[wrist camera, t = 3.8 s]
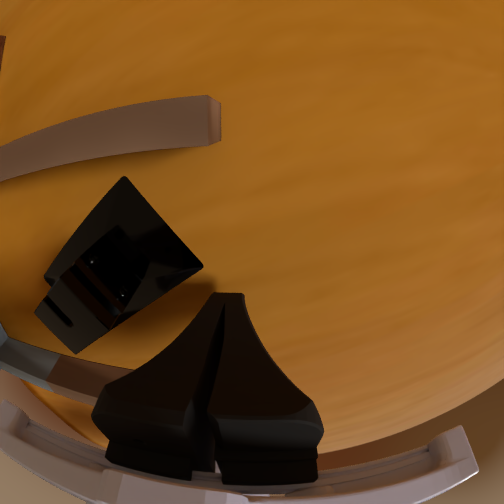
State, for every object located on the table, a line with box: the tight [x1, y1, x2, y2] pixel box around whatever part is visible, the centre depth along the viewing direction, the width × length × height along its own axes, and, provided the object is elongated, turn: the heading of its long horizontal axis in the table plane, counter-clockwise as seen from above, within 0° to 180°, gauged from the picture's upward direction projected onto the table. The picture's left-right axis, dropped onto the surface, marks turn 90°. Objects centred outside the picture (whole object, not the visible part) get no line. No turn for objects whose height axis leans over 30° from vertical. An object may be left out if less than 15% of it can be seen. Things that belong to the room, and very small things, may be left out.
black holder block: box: [34, 176, 203, 354], centre depth 11 cm, size 12×7×5 cm, turn 126°
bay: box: [0, 95, 221, 406], centre depth 11 cm, size 17×23×5 cm
